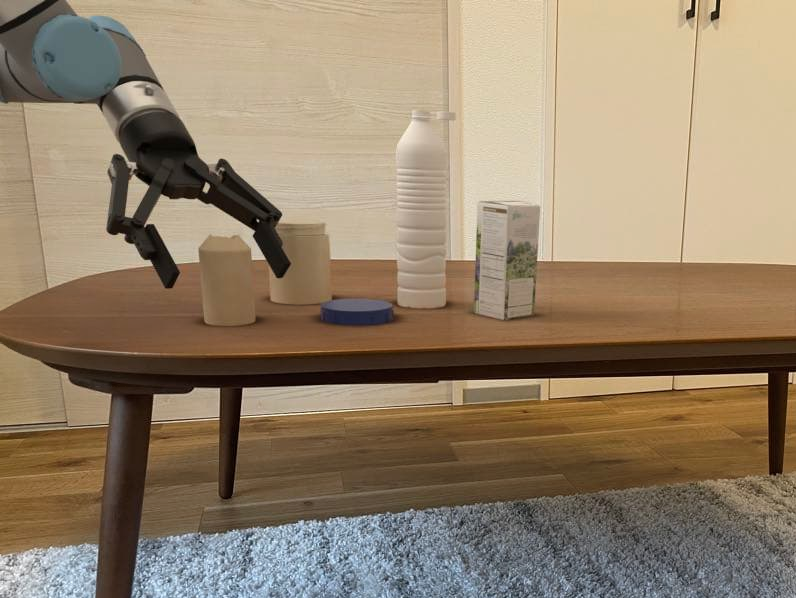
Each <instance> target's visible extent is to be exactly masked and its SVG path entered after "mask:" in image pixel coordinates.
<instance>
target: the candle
mask: <svg viewBox="0 0 796 598" xmlns="http://www.w3.org/2000/svg"><path fill="white" fill-rule="evenodd" d="M197 250H198V260H199V261H198V262H199V273H200V285H201V297H202V308H203V309H202V311H203V318H204V319H203V321H204V323H206V324H207V325H211V326H218V327H234V326H235V327H237V326H245V325H250V324H253V323H255V322H256V304H255V289H254V288H255V287H254V273H253V258H252V256H253V255H252V248H251V247H250V246H249V244H247V242H245V240H244V239H243V238H242V237H241V236H240V235H239V234H236V235H231V236H230V237H228V236H220V235H216V236H215V235H213V234H208V236H207V237H206V239H205V240H204V241H203V242H202V243H201V244H200V245H199V247H198V249H197Z"/></svg>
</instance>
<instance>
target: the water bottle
mask: <svg viewBox="0 0 796 598" xmlns="http://www.w3.org/2000/svg"><path fill="white" fill-rule="evenodd" d="M411 115H412V116H410V117H409V118H410V119H411V121H410V124H409V125H408V127H407V128H406V129H405V131H404V133H403V134H402V136H401V137H400V139H399V141H398V142H397V145H396V148H395V165H396V166H395V167H396V171H395V172H396V173H395V174H396V179H395V180H396V183H395V184H396V190H395V191H396V226H397V228H396V241H397V244H396V251H397V255H396V256H397V257H396V267H397V270H398V271H397V273H396V274H397V275H396V278H397V281H396V282H397V285H398V287H397V288H396V290H397V292H396V293H397V295H396V297H397V298H396V299H397V300H396V301H397V305H398V306H400V307H403V308H410V309H424V310H425V309H428V310H429V309H438V308H443V307H445V306H446V304H447V289H446V285H447V275H446V269H447V260H446V257H447V245H446V242H447V229H446V227H447V210H446V209H447V203H446V202H447V197H446V196H447V191H446V190H447V184H446V183H447V163H448V160H447V159H448V158H447V157H448V155H447V148H446V146H445V144H444V142H443V140H442V139H441V137H440V135H439V134H438V132H437V130H436V129H435V128H434V125H433V124H432V119H433V118H432V117H431V111H430V110H425V109H424V110H423V109H412V111H411ZM456 117H457V114H456V112H454V111H436V120H438V121H457V120H456V119H457V118H456Z"/></svg>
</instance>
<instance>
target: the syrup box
mask: <svg viewBox="0 0 796 598" xmlns="http://www.w3.org/2000/svg"><path fill="white" fill-rule="evenodd" d="M476 208H477V209H476V211H477V212H476V239H475V264H474V265H475V269H474V297H473V298H474V299H473V314H476V315H480V316H484V317H488V318H492V319H497V320H501V321H509V320H514V319H521V318H526V317H527V318H528V317H533V316H534V315H535V309H536V308H535V307H536V287H537V272H538V271H537V269H538V257H539V254H538V253H539V251H538V250H539V236H540V219H541V205H540V204H538V203H534V202H531V201H526V200H479V201H477V205H476Z"/></svg>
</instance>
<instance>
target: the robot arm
mask: <svg viewBox="0 0 796 598" xmlns="http://www.w3.org/2000/svg"><path fill="white" fill-rule="evenodd" d="M146 55H147V54H145V52H144V50H143V48H141V45H140V44H139V43H138V42H137V40H136V38H135V37H134V36H133V35H132V33H131V32H130V31H129V29H128V28H127V27H126V26H125V25H124V24H123V23H122V22H120V21H118V20H117V19H115V18H113V17H110V16H106V15H100V14H99V15H97V14H95V15H91V16H90V17H88V18H86V17H84V16H80V15H78V14H77V13H76V11H75V10H74V9H73V8H72V5H70V4H69V2H68V1H67V0H0V103H1V104H4V105H7V104H9V103H20V104H21V103H24V104H73V105H75V104H76V105H83V104H84V105H85V104H87V105H88V104H89V105H97V107H98V108H99V110H100V112H101V113H102V115H103V117H104V119H105V121H106V122H107V125H108V126H109V128H110V130H111V132H112V134H113V136H114V137H115V140H116V141H117V142H118V144H119V145H120V147H121V149H122V151H123V153H124V155H125V157H126V158H125V157H124V155H122V154H119V153H114V154H113V155H112V157H111V159H110V162H109V166H108V168H107V176H108V179H109V180H110V183H111V189H110V198H109V205H108V211H107V220H106V227H105V230H106V233H108V234H109V235H111V236H117V235H119V234H122V235H124V237H123V239H124V241H125V243H127V244H129V245H134V247H135V248H136V250H137V252H138V253H139V256H140V257H141V259H143V260H144V261H150V263H151V264H152V267H153V268H154V271H155V272H156V274H157V275H158V277H159V279H160V281H161V283H162V286H163V287H164V289H166V290H168V289H169V290H170V289H173V288H174V286H175V284H176V282H177V280H178V278H179V276H180V274H181V270H180V269H179V268H178V266H177V264H176V262H175V260H174V258H173V256H172V255H171V253H170V251H169V249H168V248H167V246H166V244H165V242H164V240H163V238H162V237H161V235H160V233H159V231H158V229H157V227H156V226H155V223H147V222H148V220H149V218H150V216H151V215H152V212H153V210H154V208H155V207H156V205H157V203H158V201H159V199H160V198H161V196H163V197H166V198H168V199H169V200H179V199H185V200H198V201H200V202H201V203H203V204H205V205H212V206H214V207H216V208H217V209H219V210H220V211H222V212H223V213H225V214H227V215H228V216H230V217H232V218H233V219H235V220H236V221H238V222H239V223H241V224H243V225H244V226H246V227H248V228H249V229H251V230H252V231H253V232H254V233H253V234H252V238H253V239H254V241H255V243H256V245H257V247H258V248H259V250H260V252H261V254H262V255H263V257H264V258H265V260H266V262H267V265H268V264H269V266H270V267H271V269H272V271H273V272H274V274H275V276H276V278H283V276H284V275H285V273H286V271H287V270H288V268H289V267H290V265H291V262H290V261H289V259H288V257H287V256H286V254H285V252H284V251H283V249H282V245H283V242H282V240H281V238H280V236H279V235H278V233H277V231H276V229H275V227H276V225H277V224H278V222H279V220H282V219H281V218H282V217H283V212H282V211H281V210H280V209H279V208H277V207H276V206H275V205H274V204H273V203H272V202H271V201H270V200H268V199H267V198H266V197H264V196H263V194H261V193H260V192H259V191H258V190H257V189H255V187H254V186H252V185H251V184H249V182H247V180H245V179H244V178H243V177H242V176H241V175H239V174H238V173H237V172H236V171H235V169H234V168H233V166H231V164H230V162H229V161H228V160H227V159H225V158H219V159H218V160H217V162H216V163H212V164H211V163H210V164H208V163H207V162H205V161H204V160H203V159H201V158H200V156H199V154H198V150H197V146H196V143H195V141H194V139H193V137H192V136H191V133H190V132H189V130H188V128H187V127H186V125H185V123H184V122H183V120H182V119H181V118H180V115H179V113H178V112H177V109H176V108H175V107H174V104H173V103H172V101H171V100H170V98H169V96H168V94H167V92H166V91H165V90H164V87H163V86H162V84H161V82H160V80H159V78H158V77H157V75H156V73H155V72H154V69H153V67H152V65H151V64H150V62H149V61H148V59H147V56H146ZM126 159H127V160H126ZM133 175H134V176H135V177H136V178H137V179H138V180H139V181H141V182H143V183H144V184H146V185H147V186H148V188H147V190H146V191H145V194H144V195H143V197H142V199H141V201H140V203H139V204H138V206H137V208H136V210H135V211H134V214H133V216H132V217H129V216H126V211H127V210H126V208H127V201H128V192H129V183H130V181H131V180H132V178H133ZM206 184H207V185H209V188H208V190H207V191H206V192H205V191H204V189H205V187H206Z"/></svg>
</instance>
